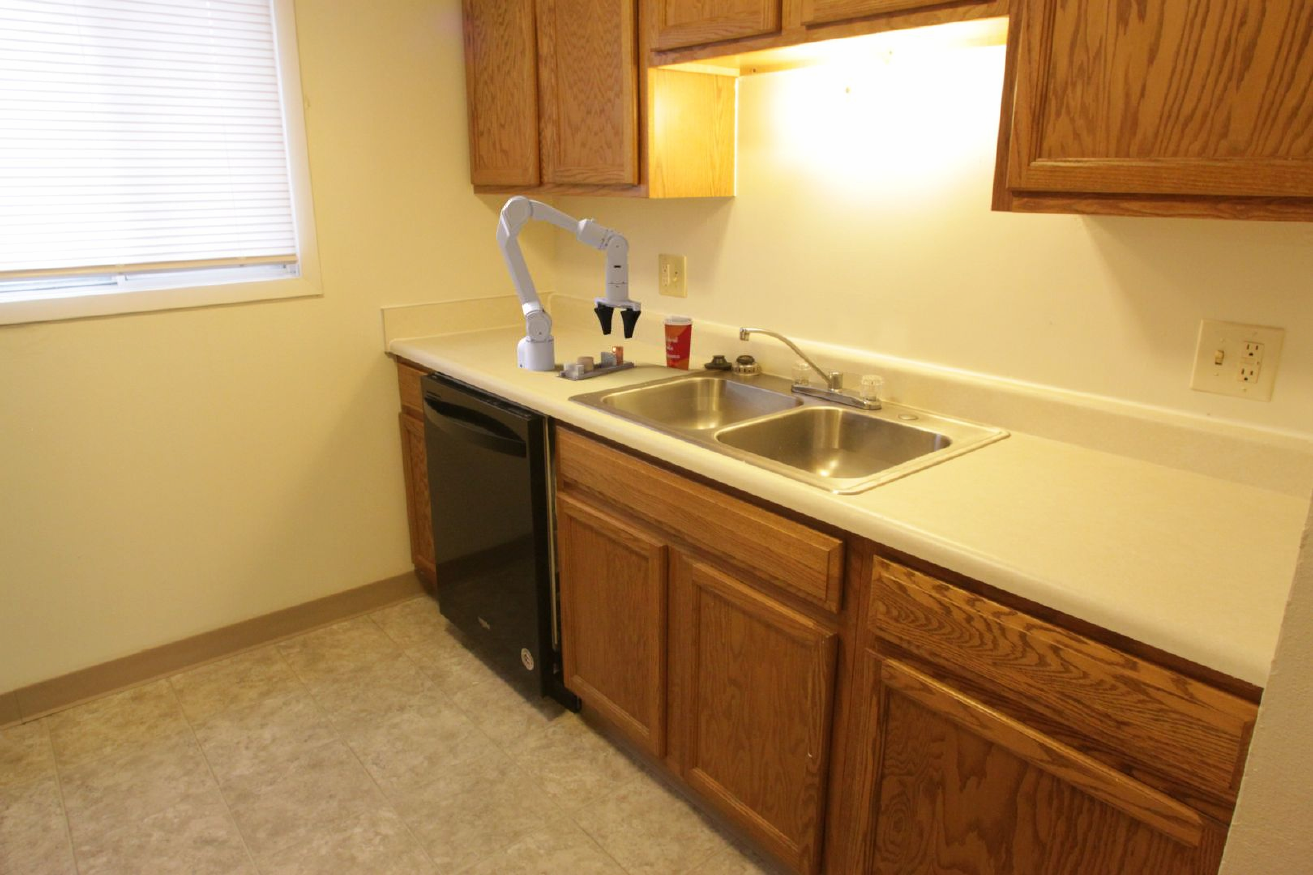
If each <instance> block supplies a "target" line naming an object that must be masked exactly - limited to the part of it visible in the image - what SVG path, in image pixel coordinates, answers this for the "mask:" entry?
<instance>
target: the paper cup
mask: <svg viewBox="0 0 1313 875" xmlns="http://www.w3.org/2000/svg"><path fill="white" fill-rule="evenodd" d="M662 323H663V324H664V338H665V339H664V341H665V357H666V358H665V359H666V361H665V362H666V367H667V368H670V369H675V370H681V371H686V372H687V371H690V370H689V368H690V358H691V357H690V356H691V344H692V329H693V327H692V326H693V324H694V321H693V319H692V316H689V315H688V316H687V315H671V316H670V315H669V316H665V317H664V321H662Z"/></svg>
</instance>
